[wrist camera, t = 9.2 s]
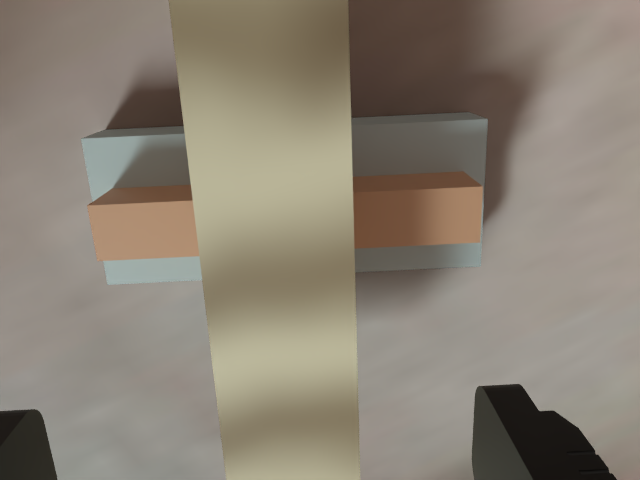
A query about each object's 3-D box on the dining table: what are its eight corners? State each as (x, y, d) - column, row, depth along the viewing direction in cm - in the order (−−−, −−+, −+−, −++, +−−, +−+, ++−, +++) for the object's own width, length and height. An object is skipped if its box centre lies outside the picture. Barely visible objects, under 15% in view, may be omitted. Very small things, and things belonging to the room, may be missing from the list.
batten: (192, -76, 19) (154, -117, 15) (336, -82, 19) (345, -126, 15) (246, 448, 26) (233, 535, 22) (352, 443, 26) (361, 529, 22)
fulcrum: (126, 262, 30) (83, 312, 24) (104, 129, 27) (50, 149, 22) (464, 245, 30) (500, 291, 24) (469, 112, 27) (511, 127, 22)
